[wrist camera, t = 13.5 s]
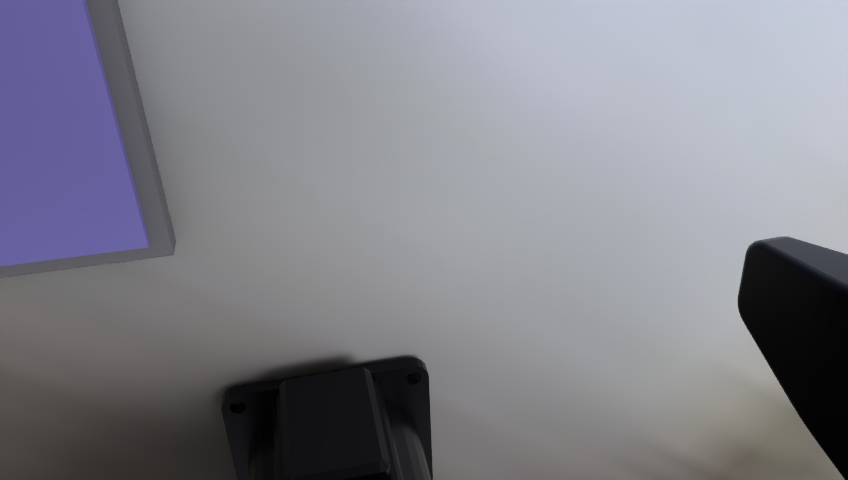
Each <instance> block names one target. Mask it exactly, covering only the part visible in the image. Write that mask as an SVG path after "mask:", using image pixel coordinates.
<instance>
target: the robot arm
mask: <svg viewBox="0 0 848 480" xmlns="http://www.w3.org/2000/svg"><path fill="white" fill-rule="evenodd" d="M738 308H739V313H740V315H741V318H742V320H743V322H744V324H745V325H746V327H747V329H748V330H749V332H750V334H751V335H752V337H753V339H754V341H755V342H756V344H757V346H758V347H759V349H760V351H761V352H762V354H763V356H764V358H765V359H766V361H767V363H768V364H769V366H770V368H771V369H772V371H773V373H774V375H775V376H776V378H777V380H778V381H779V383H780V385H781V386H782V388H783V390H784V392H785V393H786V395H787V397H788V398H789V400H790V402H791V403H792V405H793V407H794V408H795V410H796V411H797V413H798V415H799V416H800V418H801V419H802V421H803V422H804V424H805V425H806V427H807V428H808V430H809V431H810V432H811V434H812V435H813V437H814V438H815V440H816V441H817V442H818V444H819V445H820V446H821V448H822V449H823V450H824V452H825V453H826V454H827V456H828V457H829V458H830V460H831V461H832V463H833V464H834V465H835V467H836V468H837V469H838V471H839V472H840V473H841V475H842V476H843V477H844V479H845V480H848V254H844V253H841V252H838V251H834V250H831V249H828V248H824V247H821V246H818V245H814V244H811V243H807V242H804V241H801V240H797V239H794V238H791V237H776V238H770V239H765V240H759V241H755V242H754V243H752V244H751V245H750V246H749V248H748V249H747V252H746V255H745V261H744V266H743V272H742V277H741V283H740V288H739V294H738ZM410 373H417V374H416V375H414V376H412V377H410V376H407V375H409V374H410ZM236 401H242V402H244V403H242V404H240V405H237V404H233V402H236ZM222 414H223V418H224V423H225V427H226V431H227V435H228V439H229V443H230V448H231V452H232V456H233V460H234V464H235V469H236V473H237V477H238V480H433V474H432V449H431V423H430V398H429V376H428V372H427V369H426V366H425V363H424V362H422V361H421V360H419V359H405V360H399V361H392V362H386V363H380V364H373V365H367V366H361V367H355V368H348V369H342V370H336V371H329V372H323V373H317V374H311V375H304V376H298V377H292V378H286V379H279V380H273V381H267V382H260V383H254V384H248V385H242V386H235V387H232V388H229V389H228V390H227V391H225V392H224V394H223V396H222Z"/></svg>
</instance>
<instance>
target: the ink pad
mask: <svg viewBox="0 0 848 480" xmlns="http://www.w3.org/2000/svg"><path fill="white" fill-rule="evenodd" d="M175 244H176V240H175V236H174V232H173V228H172V224H171V220H170V216H169V212H168V207H167V203H166V199H165V195H164V191H163V187H162V183H161V179H160V175H159V171H158V166H157V162H156V158H155V154H154V150H153V146H152V142H151V138H150V134H149V129H148V125H147V121H146V117H145V113H144V109H143V105H142V101H141V97H140V93H139V88H138V84H137V80H136V76H135V72H134V68H133V64H132V60H131V56H130V52H129V47H128V43H127V39H126V35H125V31H124V27H123V23H122V19H121V15H120V10H119V6H118V2H117V0H0V278H2V277H10V276H17V275H25V274H33V273H40V272H48V271H55V270H63V269H71V268H78V267H86V266H94V265H101V264H109V263H117V262H124V261H132V260H140V259H147V258H155V257H163V256H170V255H174V250H175Z"/></svg>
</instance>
